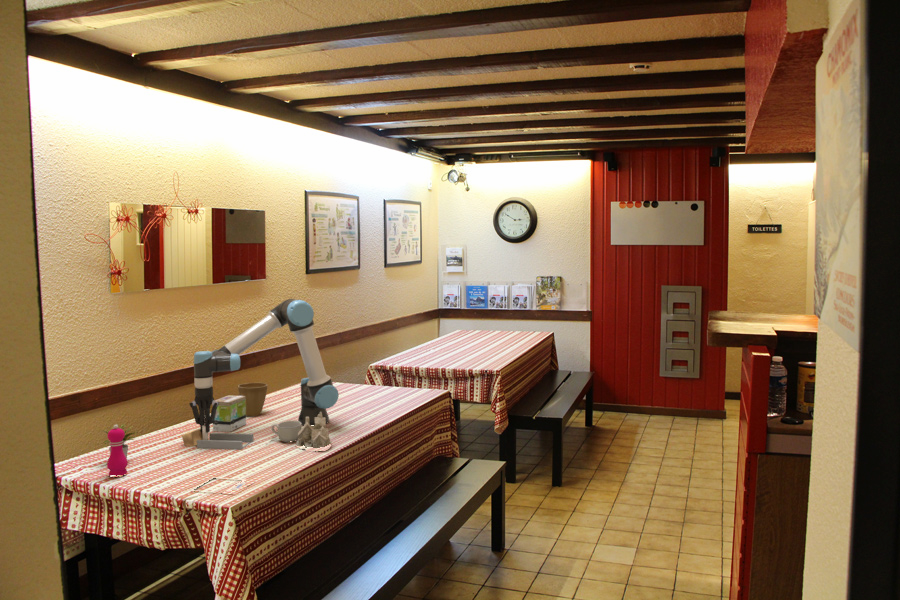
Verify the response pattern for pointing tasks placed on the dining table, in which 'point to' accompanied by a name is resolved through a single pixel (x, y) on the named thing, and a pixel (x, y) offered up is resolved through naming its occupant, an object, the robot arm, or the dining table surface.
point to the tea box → (230, 413)
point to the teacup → (287, 430)
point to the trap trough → (226, 441)
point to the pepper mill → (116, 452)
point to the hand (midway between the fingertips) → (205, 439)
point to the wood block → (192, 437)
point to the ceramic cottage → (314, 433)
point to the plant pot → (253, 397)
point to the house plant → (125, 447)
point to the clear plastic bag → (229, 488)
